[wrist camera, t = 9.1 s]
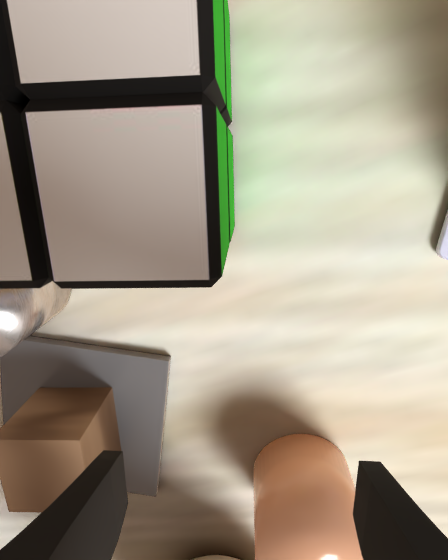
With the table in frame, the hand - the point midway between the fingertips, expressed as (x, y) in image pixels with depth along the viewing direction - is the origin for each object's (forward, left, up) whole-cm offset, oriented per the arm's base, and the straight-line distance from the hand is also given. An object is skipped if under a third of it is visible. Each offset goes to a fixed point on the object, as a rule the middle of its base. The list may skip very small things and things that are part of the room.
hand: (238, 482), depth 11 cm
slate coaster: (+9, +7, -10) cm, 15 cm away
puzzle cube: (+7, -10, -11) cm, 16 cm away
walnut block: (+9, +7, -10) cm, 15 cm away
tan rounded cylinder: (-5, +9, -10) cm, 15 cm away
